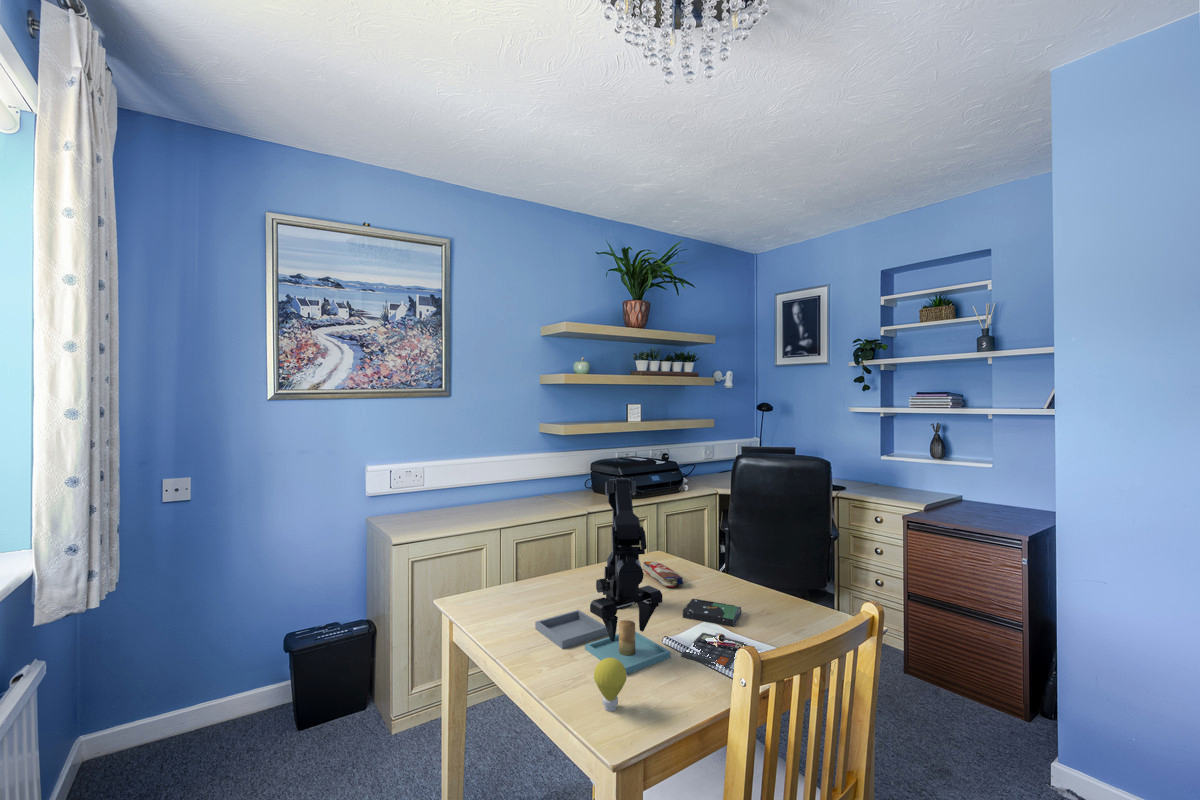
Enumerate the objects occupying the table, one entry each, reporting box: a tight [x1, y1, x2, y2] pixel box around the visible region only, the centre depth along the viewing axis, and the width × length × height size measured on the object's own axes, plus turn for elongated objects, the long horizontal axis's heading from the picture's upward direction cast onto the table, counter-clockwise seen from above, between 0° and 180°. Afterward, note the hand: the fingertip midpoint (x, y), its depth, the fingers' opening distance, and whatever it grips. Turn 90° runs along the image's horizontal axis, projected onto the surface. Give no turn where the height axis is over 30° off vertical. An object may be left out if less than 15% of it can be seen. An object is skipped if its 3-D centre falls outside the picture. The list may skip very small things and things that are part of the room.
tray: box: [584, 630, 672, 675], centre depth 134 cm, size 15×15×2 cm
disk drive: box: [682, 598, 742, 628], centre depth 157 cm, size 10×3×15 cm
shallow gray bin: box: [535, 609, 608, 650], centre depth 146 cm, size 14×14×2 cm
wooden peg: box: [618, 619, 636, 656], centre depth 134 cm, size 4×4×7 cm
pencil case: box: [642, 561, 685, 588], centre depth 187 cm, size 11×20×5 cm, turn 8°
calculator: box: [680, 632, 747, 669], centre depth 136 cm, size 12×1×15 cm
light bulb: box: [593, 658, 627, 712], centre depth 111 cm, size 7×7×10 cm
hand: (627, 635), depth 134 cm, fingers open, 9 cm apart
